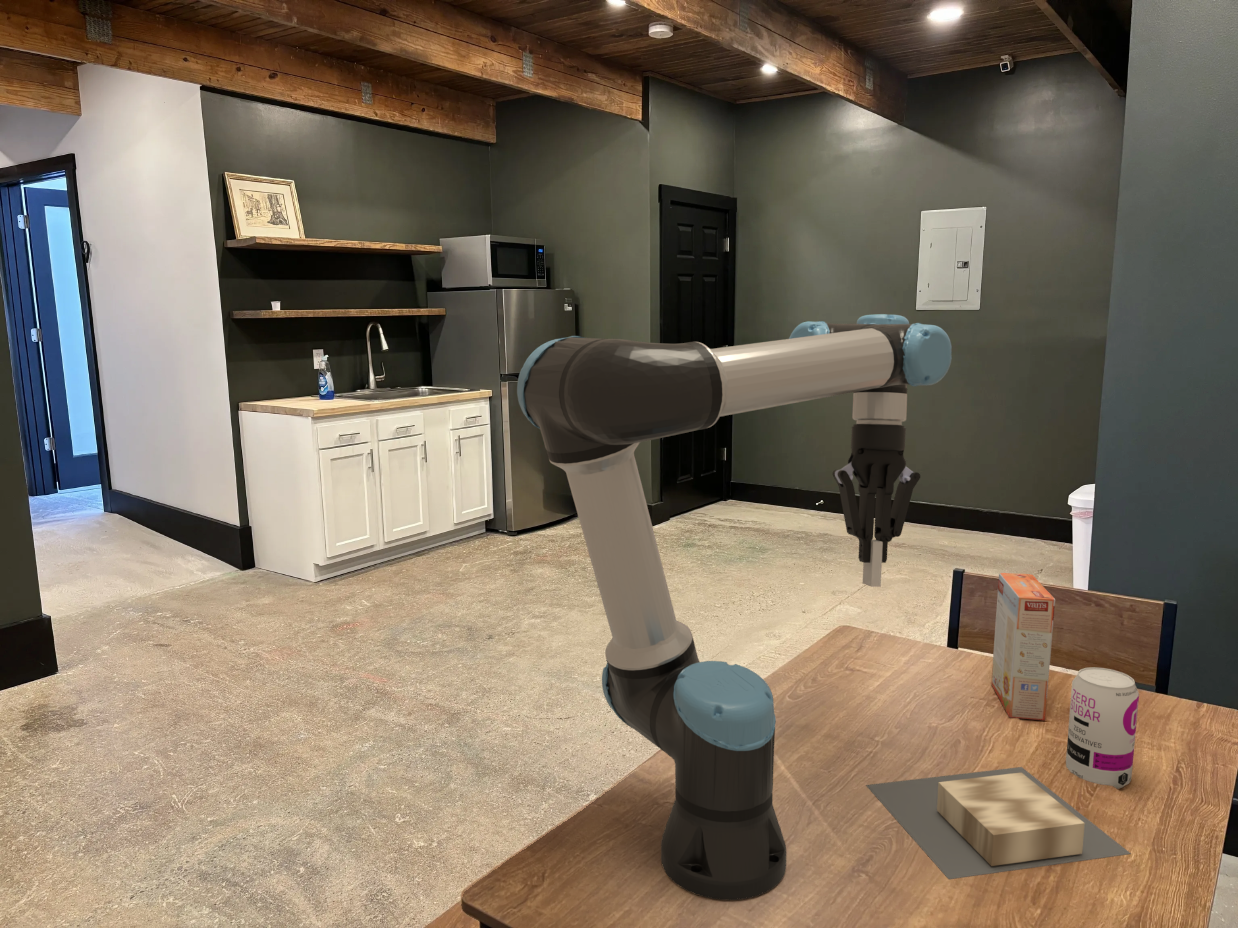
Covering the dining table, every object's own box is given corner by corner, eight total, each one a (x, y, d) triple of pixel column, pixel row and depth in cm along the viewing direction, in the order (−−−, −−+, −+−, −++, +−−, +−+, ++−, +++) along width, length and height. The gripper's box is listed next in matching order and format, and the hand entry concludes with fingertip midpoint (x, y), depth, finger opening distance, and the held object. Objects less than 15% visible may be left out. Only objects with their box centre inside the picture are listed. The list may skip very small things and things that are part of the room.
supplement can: (1137, 775, 125) (1146, 675, 123) (1121, 798, 119) (1130, 694, 117) (1075, 756, 131) (1083, 661, 128) (1057, 777, 125) (1065, 678, 122)
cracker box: (1048, 722, 142) (1057, 598, 138) (1008, 719, 143) (1016, 596, 139) (1026, 686, 155) (1034, 572, 152) (990, 684, 156) (997, 571, 153)
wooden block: (936, 811, 115) (991, 867, 103) (938, 782, 114) (993, 834, 102) (1019, 801, 117) (1081, 855, 105) (1021, 772, 116) (1084, 822, 105)
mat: (948, 886, 101) (948, 878, 101) (865, 791, 122) (865, 784, 122) (1130, 860, 106) (1131, 853, 106) (1021, 773, 126) (1021, 766, 126)
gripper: (906, 425, 132) (899, 580, 133) (825, 421, 130) (819, 580, 130) (933, 424, 125) (926, 589, 126) (848, 421, 122) (841, 589, 123)
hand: (871, 584), depth 128 cm, fingers closed
